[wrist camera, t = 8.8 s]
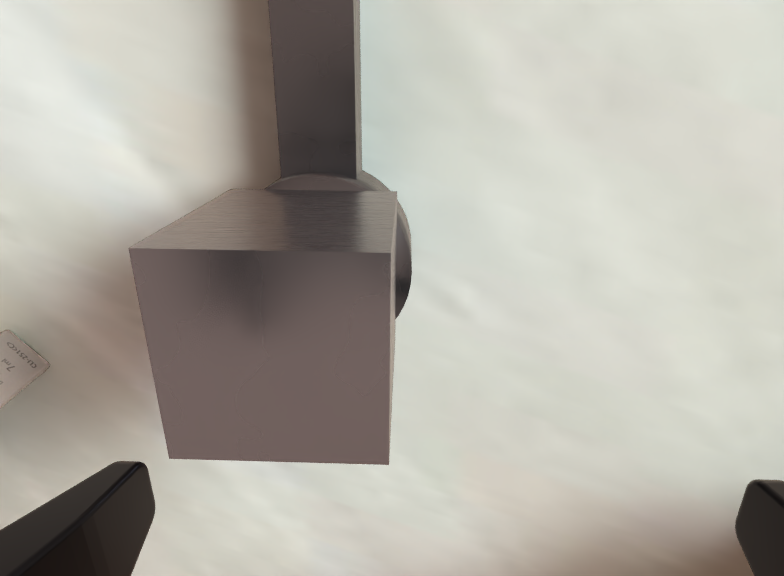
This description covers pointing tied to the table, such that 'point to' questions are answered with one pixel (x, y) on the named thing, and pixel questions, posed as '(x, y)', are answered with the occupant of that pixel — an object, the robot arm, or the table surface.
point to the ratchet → (325, 107)
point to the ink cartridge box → (17, 366)
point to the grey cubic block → (274, 326)
